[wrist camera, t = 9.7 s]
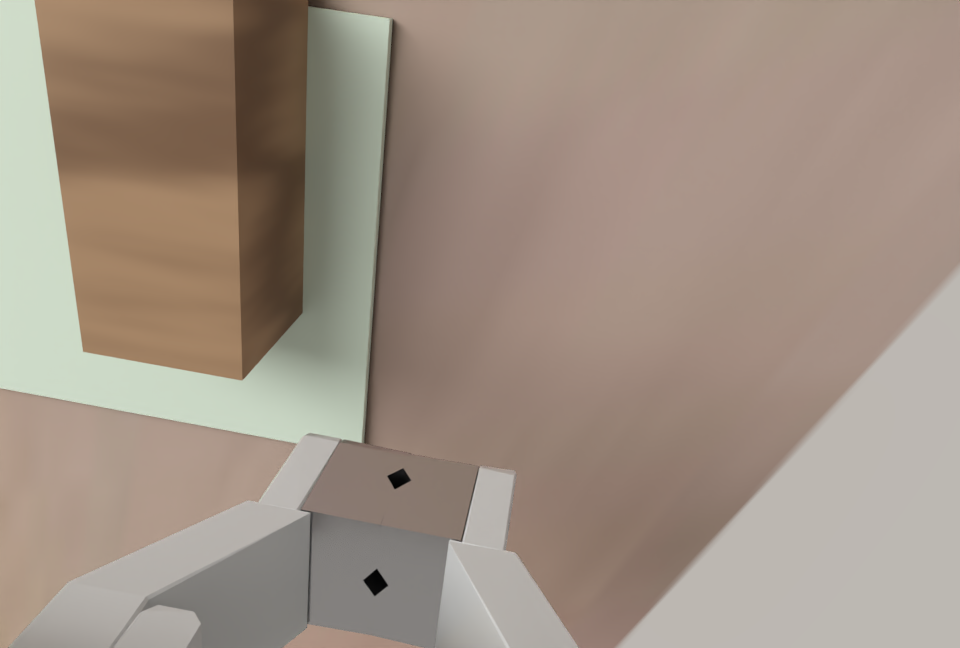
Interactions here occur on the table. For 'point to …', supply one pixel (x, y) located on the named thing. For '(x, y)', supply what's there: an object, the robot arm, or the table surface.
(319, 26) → the mat
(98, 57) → the block
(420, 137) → the table surface
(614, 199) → the table surface
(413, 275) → the table surface
